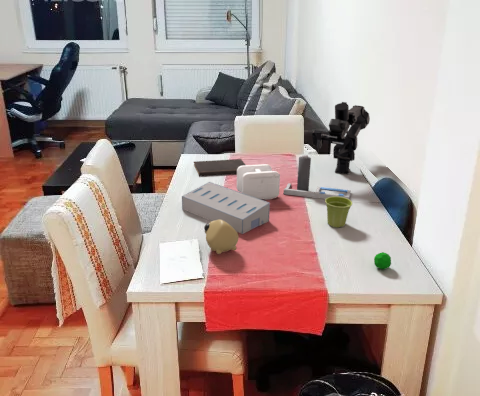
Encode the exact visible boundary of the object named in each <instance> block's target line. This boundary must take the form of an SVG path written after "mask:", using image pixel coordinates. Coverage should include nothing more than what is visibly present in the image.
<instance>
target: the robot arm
mask: <svg viewBox="0 0 480 396" xmlns="http://www.w3.org/2000/svg"><path fill="white" fill-rule="evenodd" d="M369 124H370V113H369V112H368V111H367V110H366V109H365V107H364V106H362V105H356V104H355V105H353V106H352V107H351V108H349V104H348V103H347V102H346V101H341V102H340V103H337V104H335V105H334V118H331V119H330V121H329V124H328V127H329V129H328V134H324V131H323V130H316V129H315V130H313V132H312V133H311V136H312V144H313V145H314V146H316V151H317V152H319V150H320V149H321V148H322V146H323V144H324V141H325V142H326V141H328V142H329V144H333V145H334V146H333V153H332V154H333V157H332V158H333V159H337V160H336V161H337V162H336V167H335V170H334V173H336V174H347V175H350V172H351V168H350V163H351V162H353V161H355V159H356V157H355V155H356V153H355V151H356V150H357V148H358V135H359V133H360V131H362V130H365V129H366V128H367V126H368V125H369Z"/></svg>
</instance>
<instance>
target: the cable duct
mask: <svg viewBox="0 0 480 396" xmlns="http://www.w3.org/2000/svg"><path fill="white" fill-rule="evenodd" d="M291 186H292V183H289V182H288V183H287V185H286V187H285V188H283V195H289V196H299V197H305V198H315V199H322V200H325V199H326V198H329V197H344V198H347V199H349V200H350V196H351V190H350V189H343V188H341V189H340V188H332V187H325V186H324V187H323V186H317V187H316V190H315V191H312V190H311V191H310V190H309V191H303V190H297V189H292V188H291ZM321 190H323V191H321ZM324 190H325V191H334V192H341V193H338V194H336V193H328V192H325V191H324ZM344 193H346V194H344Z"/></svg>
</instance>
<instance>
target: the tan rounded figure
mask: <svg viewBox="0 0 480 396" xmlns="http://www.w3.org/2000/svg"><path fill="white" fill-rule="evenodd" d="M204 234H205V239H206V240H205V241H206V243H207V245H208V247H209V248H210V251H212V252H214V251H215V252H216V254H218V255H220V254H222V253H225V252H229V251H231V250H232V251H236V250H237V244H238V242H239V232H236V231H235V229H234V228H233V227H232V226H230V225H229V224H228V223H227V222H225V221H223V220H220V219H218V220H215V221H210V220H209V223H206V224H204Z"/></svg>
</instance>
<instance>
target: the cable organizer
mask: <svg viewBox="0 0 480 396" xmlns="http://www.w3.org/2000/svg"><path fill="white" fill-rule="evenodd" d="M280 183H281V174H280V173H279V172H278V171H277V170H273V169H272V166H271V165H270V164H267V163H266V164H265V163H263V164H248V165H247V164H245V165H243V166H239V167H238V168H237V174H236V191H238V192H240V193H243V194H246V195H249V196H252V197H255V198H258V199H261V200H264V201H267V200H272V199H275V198H278V197H279V194H280Z"/></svg>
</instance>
